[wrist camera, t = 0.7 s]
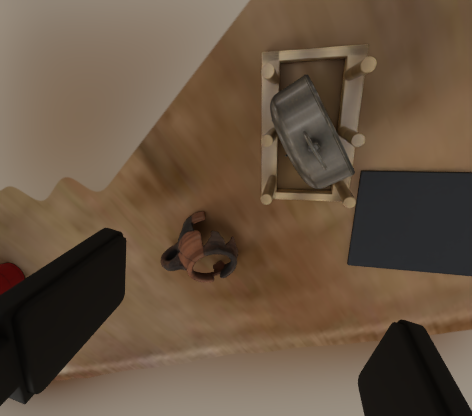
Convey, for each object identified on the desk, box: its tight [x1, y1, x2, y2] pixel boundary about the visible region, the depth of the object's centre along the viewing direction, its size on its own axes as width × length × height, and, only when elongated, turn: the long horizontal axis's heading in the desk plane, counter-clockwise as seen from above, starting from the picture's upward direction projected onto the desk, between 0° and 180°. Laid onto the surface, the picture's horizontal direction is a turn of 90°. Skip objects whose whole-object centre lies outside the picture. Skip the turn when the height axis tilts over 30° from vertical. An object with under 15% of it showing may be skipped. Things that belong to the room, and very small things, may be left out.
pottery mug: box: [161, 211, 238, 282], centre depth 40 cm, size 12×10×8 cm
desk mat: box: [347, 171, 472, 276], centre depth 34 cm, size 18×14×1 cm
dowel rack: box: [261, 44, 377, 208], centre depth 28 cm, size 11×18×10 cm, turn 2°
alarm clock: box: [270, 75, 355, 189], centre depth 25 cm, size 11×5×16 cm, turn 32°
